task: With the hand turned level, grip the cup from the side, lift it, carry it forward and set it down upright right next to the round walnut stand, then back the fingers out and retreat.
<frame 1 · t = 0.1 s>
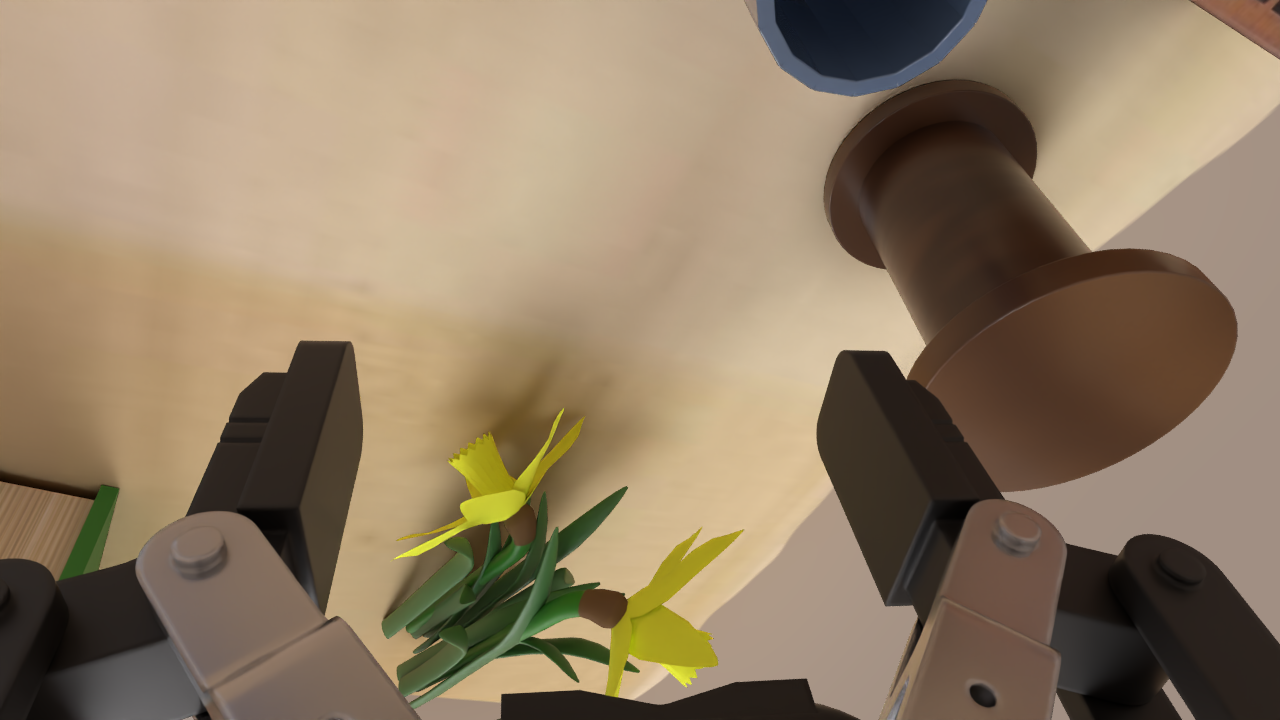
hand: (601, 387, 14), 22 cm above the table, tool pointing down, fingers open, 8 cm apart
stand: (924, 177, 38), on the table
hardback book: (33, 551, 51), on the table
daffodil flowers: (510, 519, 54), on the table
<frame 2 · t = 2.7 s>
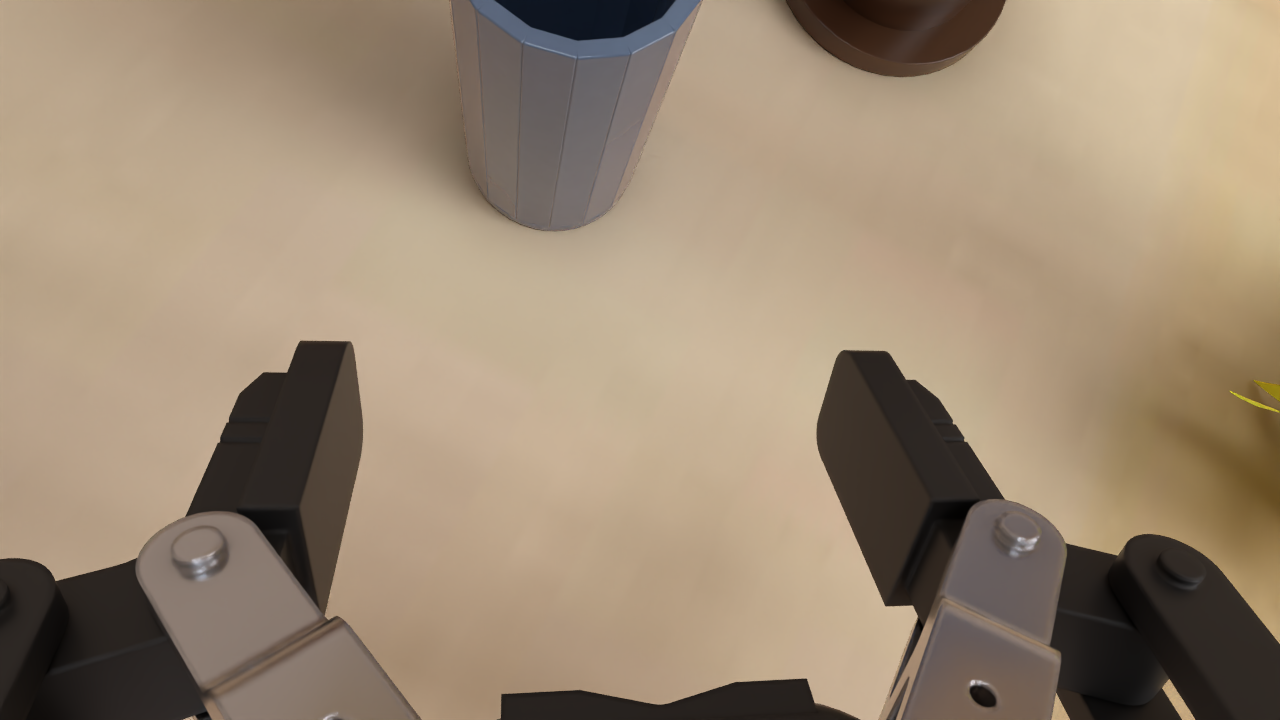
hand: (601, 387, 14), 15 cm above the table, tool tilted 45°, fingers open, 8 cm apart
cup: (551, 152, 30), on the table
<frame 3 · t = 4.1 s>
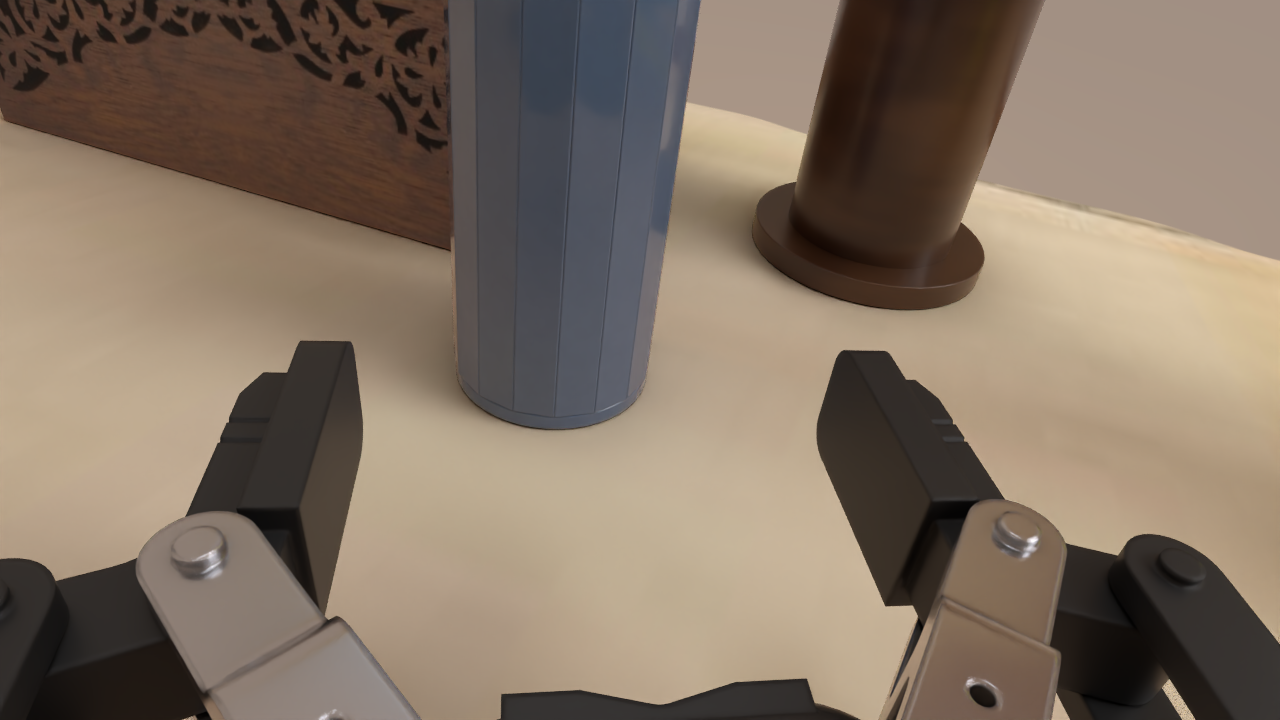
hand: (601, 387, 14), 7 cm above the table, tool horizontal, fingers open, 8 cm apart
cup: (552, 367, 26), on the table
stand: (862, 248, 35), on the table
tissue box cover: (356, 139, 39), on the table
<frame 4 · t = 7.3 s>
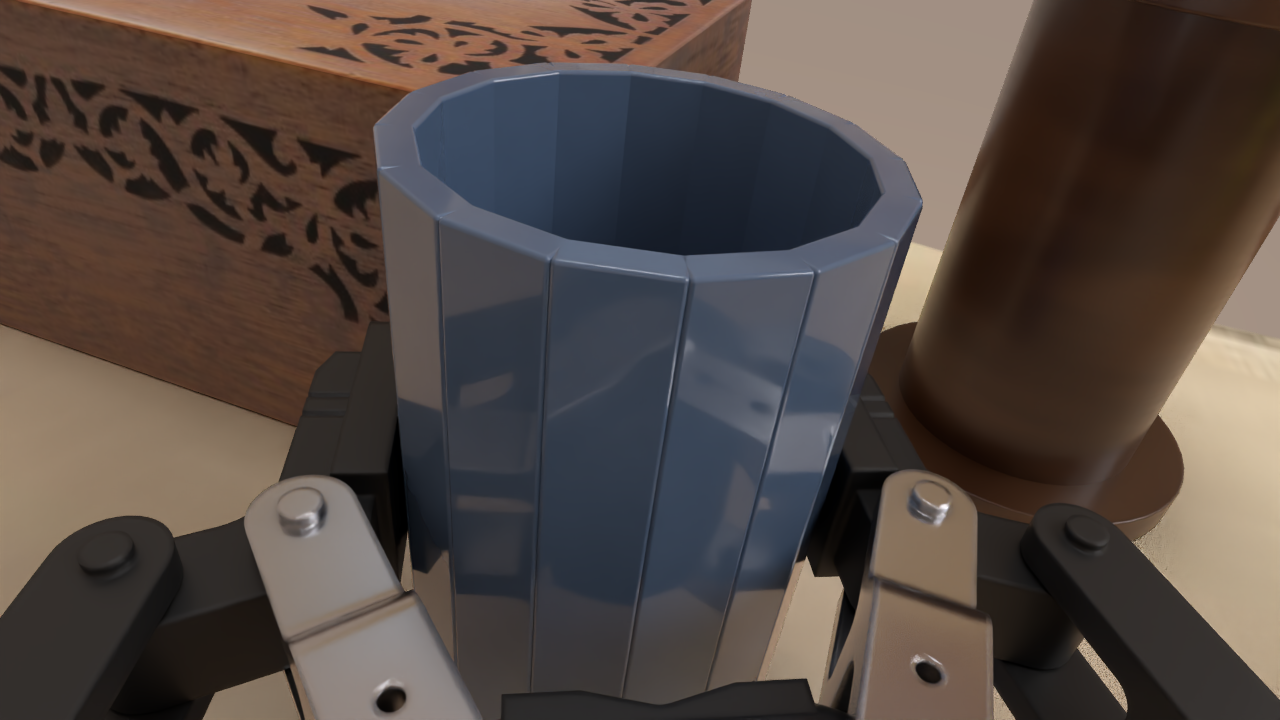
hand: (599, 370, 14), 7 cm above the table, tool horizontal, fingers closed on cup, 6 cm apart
stand: (999, 431, 25), on the table
tissue box cover: (307, 269, 29), on the table
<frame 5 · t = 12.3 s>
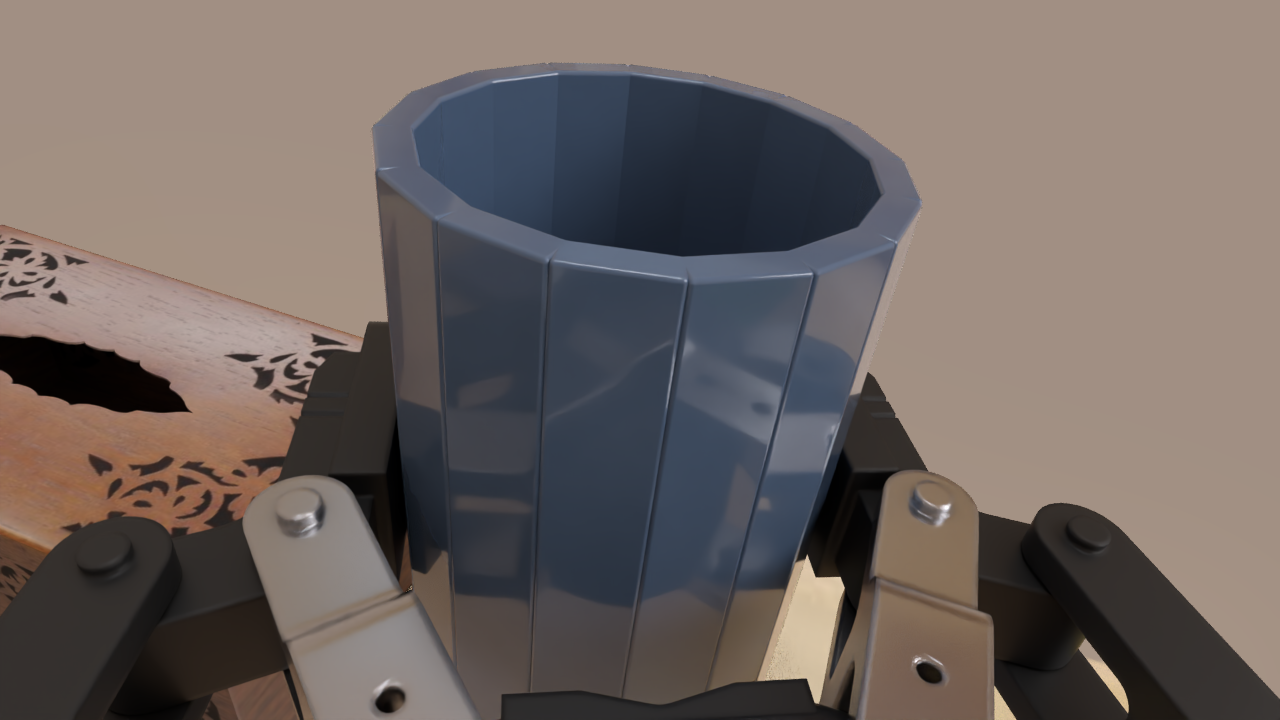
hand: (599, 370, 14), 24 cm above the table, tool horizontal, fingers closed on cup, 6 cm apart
tissue box cover: (141, 541, 39), on the table
when the fingers open (7 cm above the table, at t = 17.6 s): cup stays where it is, on the table.
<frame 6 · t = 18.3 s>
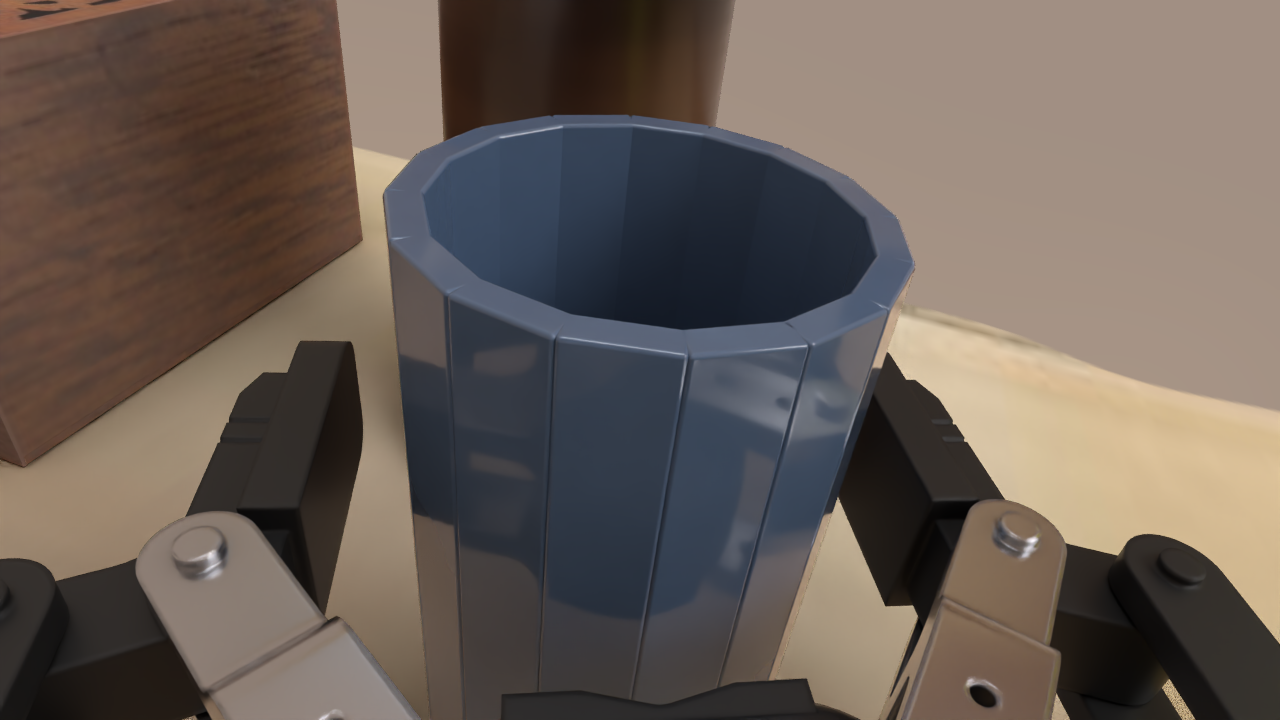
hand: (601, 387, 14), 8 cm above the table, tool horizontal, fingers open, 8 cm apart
stand: (564, 393, 26), on the table
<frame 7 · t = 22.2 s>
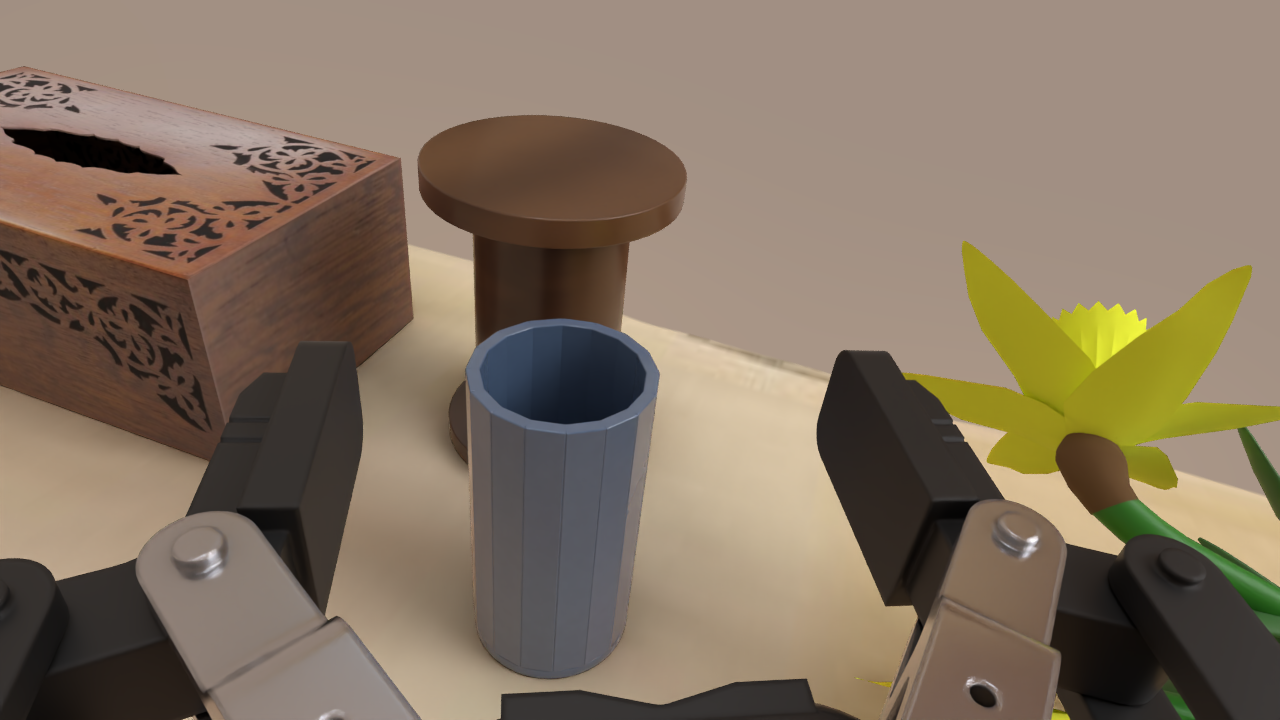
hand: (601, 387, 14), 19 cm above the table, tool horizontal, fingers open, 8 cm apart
cup: (551, 611, 33), on the table
stand: (545, 424, 42), on the table
tissue box cover: (141, 324, 46), on the table
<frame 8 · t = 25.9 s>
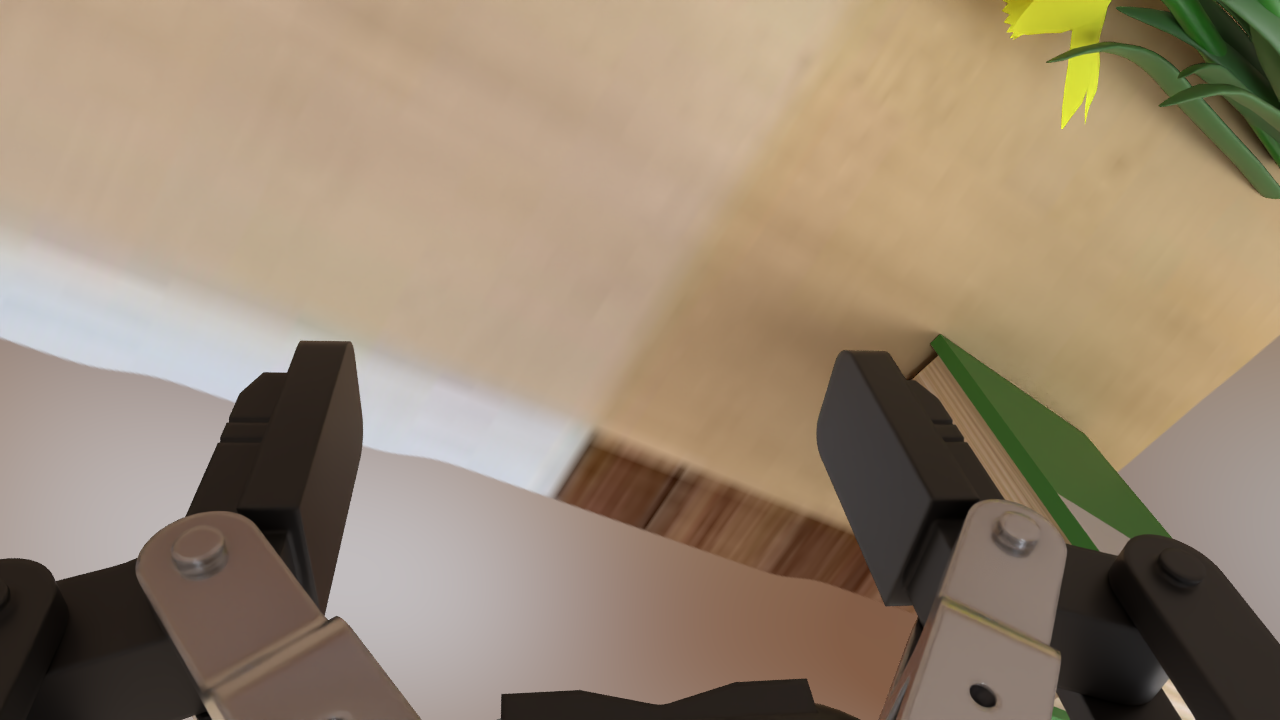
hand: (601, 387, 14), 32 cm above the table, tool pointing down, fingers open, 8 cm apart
hardback book: (977, 419, 61), on the table
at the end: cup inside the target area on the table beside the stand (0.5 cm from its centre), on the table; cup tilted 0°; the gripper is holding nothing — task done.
